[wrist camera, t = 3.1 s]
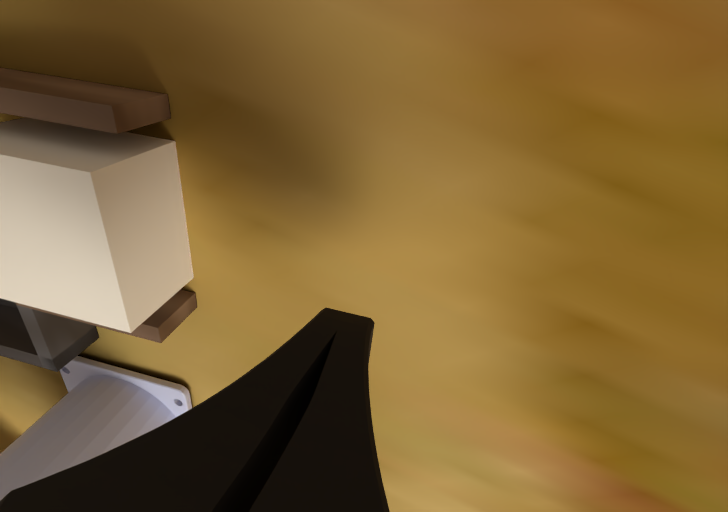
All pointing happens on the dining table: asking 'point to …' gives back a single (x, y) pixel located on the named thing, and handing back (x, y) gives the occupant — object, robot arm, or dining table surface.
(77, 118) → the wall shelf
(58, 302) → the cream block
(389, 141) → the dining table surface
